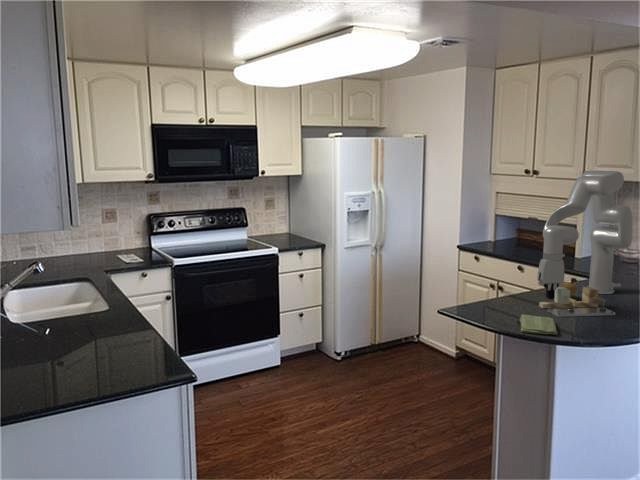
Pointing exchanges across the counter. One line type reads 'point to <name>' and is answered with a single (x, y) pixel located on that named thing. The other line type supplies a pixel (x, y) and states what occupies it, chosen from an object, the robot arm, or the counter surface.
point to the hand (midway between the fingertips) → (549, 298)
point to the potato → (568, 287)
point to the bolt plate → (581, 312)
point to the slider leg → (563, 296)
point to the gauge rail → (588, 300)
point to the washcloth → (538, 325)
